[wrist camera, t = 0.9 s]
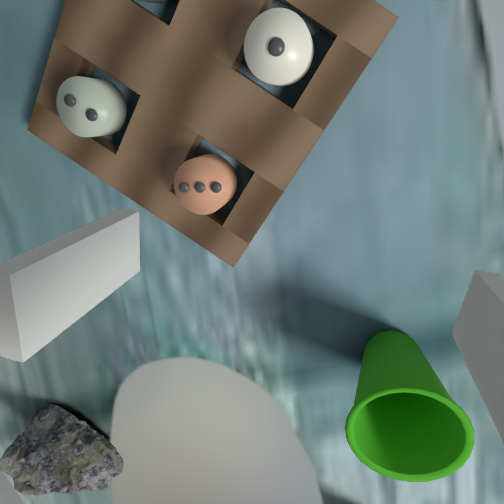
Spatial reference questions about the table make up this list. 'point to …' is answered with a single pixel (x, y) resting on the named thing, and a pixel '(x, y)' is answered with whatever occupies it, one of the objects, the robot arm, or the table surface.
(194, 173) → the button three
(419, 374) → the cup
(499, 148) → the table surface
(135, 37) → the panel
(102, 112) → the button two
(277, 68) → the button one
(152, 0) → the button blank
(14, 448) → the mineral rock
